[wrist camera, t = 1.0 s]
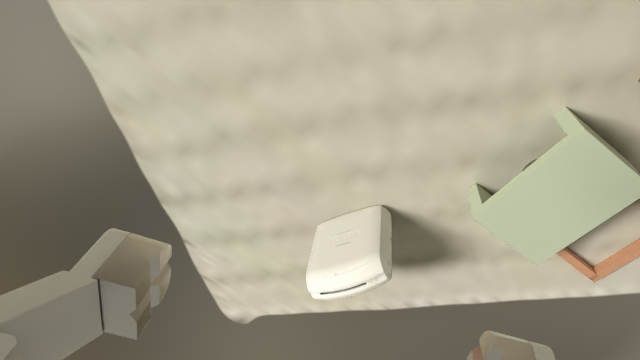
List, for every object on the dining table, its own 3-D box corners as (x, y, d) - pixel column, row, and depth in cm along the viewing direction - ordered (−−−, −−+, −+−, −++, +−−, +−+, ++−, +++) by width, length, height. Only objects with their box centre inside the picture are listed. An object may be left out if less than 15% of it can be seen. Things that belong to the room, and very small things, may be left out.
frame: (628, 174, 49) (633, 180, 48) (682, 220, 51) (688, 226, 50) (539, 236, 55) (542, 242, 54) (590, 275, 57) (594, 282, 56)
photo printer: (384, 199, 55) (382, 265, 45) (397, 224, 57) (397, 294, 47) (313, 221, 59) (295, 288, 48) (327, 245, 61) (313, 314, 50)
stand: (565, 106, 46) (585, 129, 41) (628, 160, 48) (654, 188, 43) (466, 190, 53) (473, 218, 48) (524, 235, 55) (536, 265, 50)
